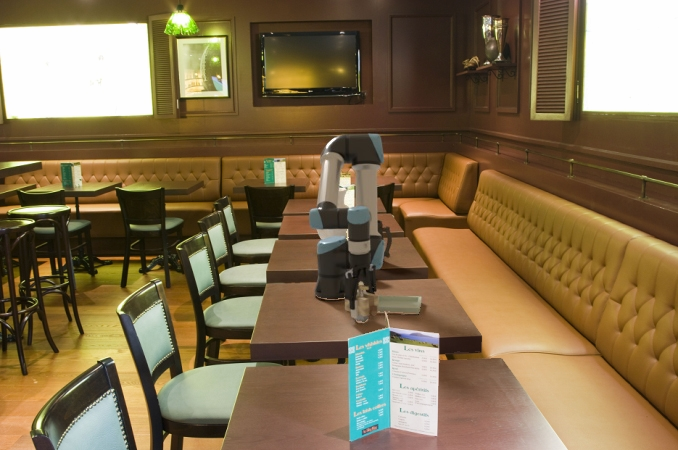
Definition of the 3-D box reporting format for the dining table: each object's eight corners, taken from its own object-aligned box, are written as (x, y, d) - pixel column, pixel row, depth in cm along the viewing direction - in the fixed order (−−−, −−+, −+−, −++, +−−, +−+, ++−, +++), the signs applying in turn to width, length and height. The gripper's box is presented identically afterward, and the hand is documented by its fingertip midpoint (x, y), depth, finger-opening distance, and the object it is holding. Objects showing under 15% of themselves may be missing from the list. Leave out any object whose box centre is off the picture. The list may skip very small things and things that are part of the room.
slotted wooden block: (345, 309, 226) (344, 293, 225) (357, 305, 231) (357, 289, 229) (368, 317, 218) (368, 300, 217) (381, 312, 222) (381, 296, 221)
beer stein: (356, 264, 299) (358, 222, 294) (364, 258, 308) (365, 217, 304) (388, 268, 293) (390, 226, 288) (394, 262, 303) (396, 221, 298)
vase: (335, 239, 349) (333, 184, 343) (363, 245, 334) (361, 188, 327) (309, 245, 337) (307, 189, 331) (337, 252, 321) (334, 193, 315)
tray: (372, 313, 233) (372, 306, 233) (377, 301, 246) (377, 295, 245) (419, 314, 230) (418, 308, 229) (421, 303, 242) (421, 296, 242)
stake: (352, 323, 224) (351, 287, 221) (355, 318, 228) (353, 283, 226) (368, 324, 223) (367, 288, 220) (370, 319, 227) (369, 284, 225)
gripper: (347, 259, 211) (349, 325, 216) (386, 247, 224) (387, 310, 229) (331, 255, 217) (334, 320, 221) (371, 244, 229) (372, 305, 234)
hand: (361, 314), depth 225 cm, fingers closed on slotted wooden block, 6 cm apart
